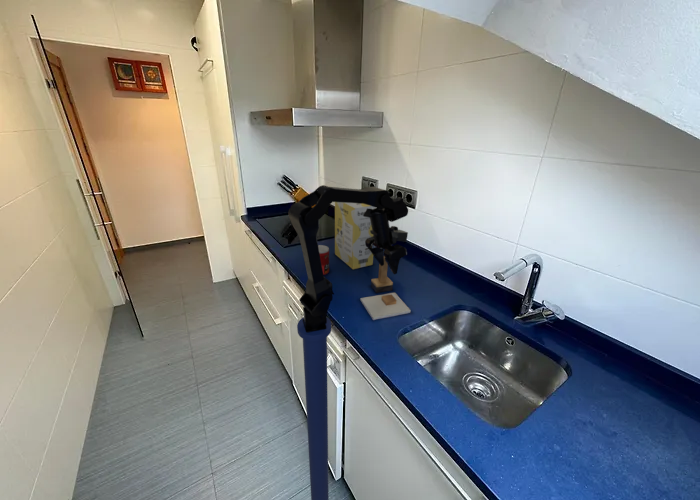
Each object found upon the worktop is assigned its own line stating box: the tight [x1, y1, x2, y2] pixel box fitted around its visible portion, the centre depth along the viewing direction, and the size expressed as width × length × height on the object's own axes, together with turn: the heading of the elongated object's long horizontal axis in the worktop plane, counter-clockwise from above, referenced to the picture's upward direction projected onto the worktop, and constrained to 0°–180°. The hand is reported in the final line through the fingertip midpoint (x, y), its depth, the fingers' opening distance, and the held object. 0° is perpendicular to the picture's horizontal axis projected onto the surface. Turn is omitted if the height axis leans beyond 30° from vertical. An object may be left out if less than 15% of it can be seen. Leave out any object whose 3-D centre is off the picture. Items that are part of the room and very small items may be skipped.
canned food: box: [318, 244, 330, 276], centre depth 122 cm, size 8×8×11 cm
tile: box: [359, 292, 411, 321], centre depth 101 cm, size 14×12×1 cm
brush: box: [370, 256, 394, 294], centre depth 110 cm, size 7×5×14 cm
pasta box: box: [334, 202, 376, 270], centre depth 131 cm, size 18×10×28 cm, turn 29°
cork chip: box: [381, 294, 397, 306], centre depth 102 cm, size 4×4×2 cm
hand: (388, 269), depth 97 cm, fingers open, 9 cm apart
